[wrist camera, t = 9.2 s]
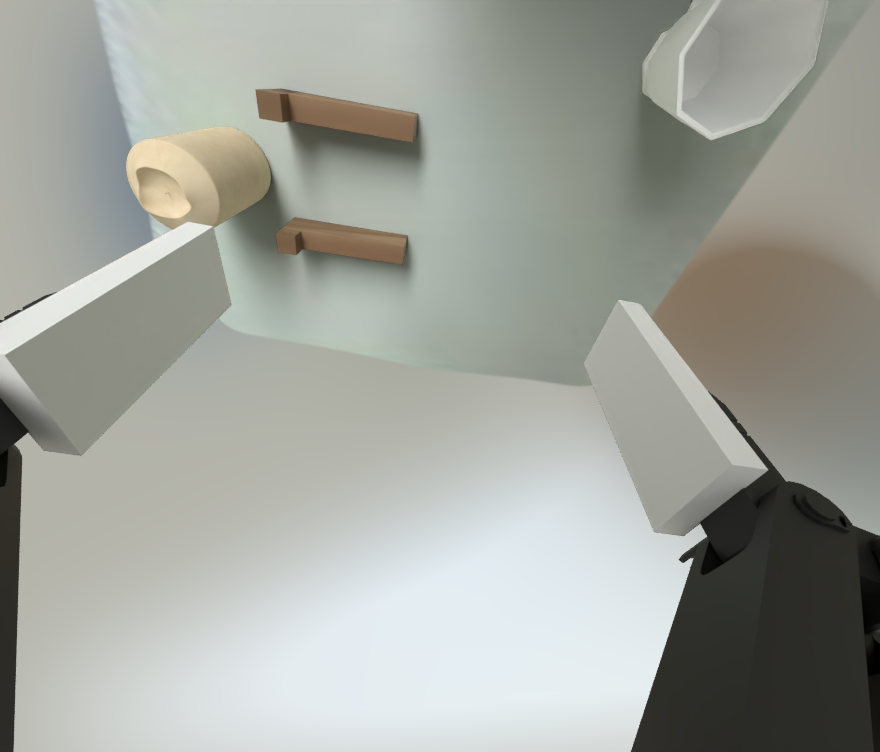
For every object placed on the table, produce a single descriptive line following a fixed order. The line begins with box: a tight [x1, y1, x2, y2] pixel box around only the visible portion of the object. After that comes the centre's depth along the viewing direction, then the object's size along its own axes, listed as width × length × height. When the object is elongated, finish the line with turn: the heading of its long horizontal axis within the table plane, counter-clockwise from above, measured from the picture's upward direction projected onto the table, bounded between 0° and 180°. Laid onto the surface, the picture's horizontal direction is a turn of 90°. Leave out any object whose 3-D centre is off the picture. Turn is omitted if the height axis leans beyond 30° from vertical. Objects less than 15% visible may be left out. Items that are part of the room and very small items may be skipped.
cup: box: [642, 0, 829, 140], centre depth 21 cm, size 7×10×8 cm
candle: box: [126, 126, 271, 230], centre depth 26 cm, size 6×6×10 cm
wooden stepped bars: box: [256, 89, 418, 264], centre depth 28 cm, size 10×10×4 cm
